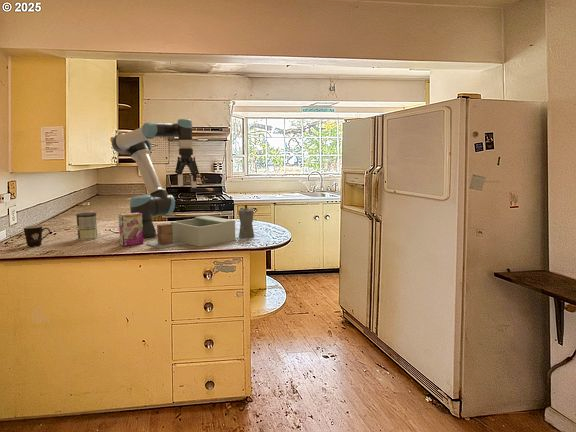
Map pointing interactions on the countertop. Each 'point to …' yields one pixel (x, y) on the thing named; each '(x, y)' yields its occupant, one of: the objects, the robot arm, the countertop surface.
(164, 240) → the walnut block
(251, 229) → the coffeepot
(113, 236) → the countertop surface
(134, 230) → the candy bar box
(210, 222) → the crate
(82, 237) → the coffee can
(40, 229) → the coffee mug
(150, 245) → the pad
